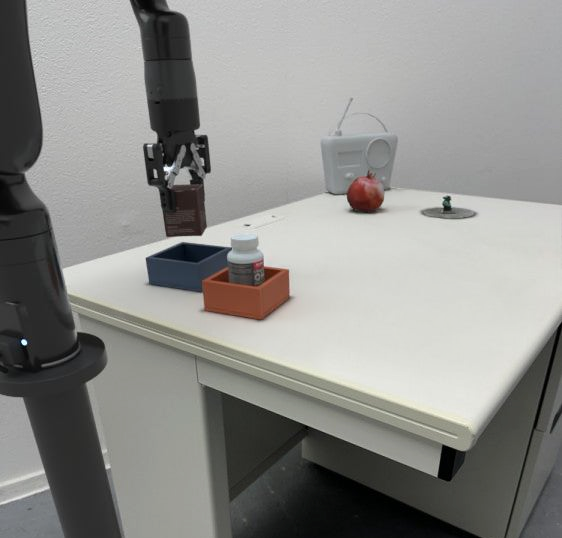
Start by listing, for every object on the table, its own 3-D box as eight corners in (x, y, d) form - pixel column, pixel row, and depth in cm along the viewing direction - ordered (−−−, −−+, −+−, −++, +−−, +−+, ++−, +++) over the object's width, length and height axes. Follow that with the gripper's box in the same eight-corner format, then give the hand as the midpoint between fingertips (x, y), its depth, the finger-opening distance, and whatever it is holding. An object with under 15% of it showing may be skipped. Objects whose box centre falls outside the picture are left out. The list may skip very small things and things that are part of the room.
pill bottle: (264, 306, 81) (261, 240, 76) (228, 306, 81) (223, 241, 76) (266, 293, 85) (263, 231, 81) (232, 294, 86) (227, 231, 81)
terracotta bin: (261, 319, 78) (259, 289, 76) (204, 310, 82) (201, 280, 79) (289, 297, 85) (289, 269, 83) (236, 289, 89) (234, 262, 87)
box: (207, 228, 94) (203, 183, 90) (202, 237, 88) (197, 190, 85) (172, 228, 94) (167, 184, 90) (165, 237, 89) (158, 191, 85)
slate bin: (201, 292, 89) (198, 264, 86) (149, 284, 93) (145, 257, 91) (234, 272, 97) (232, 247, 95) (185, 266, 101) (182, 241, 99)
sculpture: (413, 212, 137) (432, 185, 136) (434, 233, 141) (453, 207, 140) (442, 218, 126) (463, 189, 125) (464, 241, 131) (485, 213, 130)
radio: (330, 197, 155) (331, 98, 143) (318, 192, 162) (319, 97, 150) (398, 190, 161) (405, 95, 149) (384, 185, 168) (390, 94, 156)
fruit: (340, 208, 141) (341, 167, 136) (374, 205, 143) (376, 165, 138) (354, 216, 133) (355, 173, 128) (389, 212, 135) (392, 170, 130)
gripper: (179, 94, 88) (190, 198, 96) (120, 98, 77) (138, 215, 85) (218, 93, 85) (226, 200, 93) (163, 97, 74) (177, 219, 82)
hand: (184, 207), depth 89 cm, fingers closed on box, 7 cm apart
